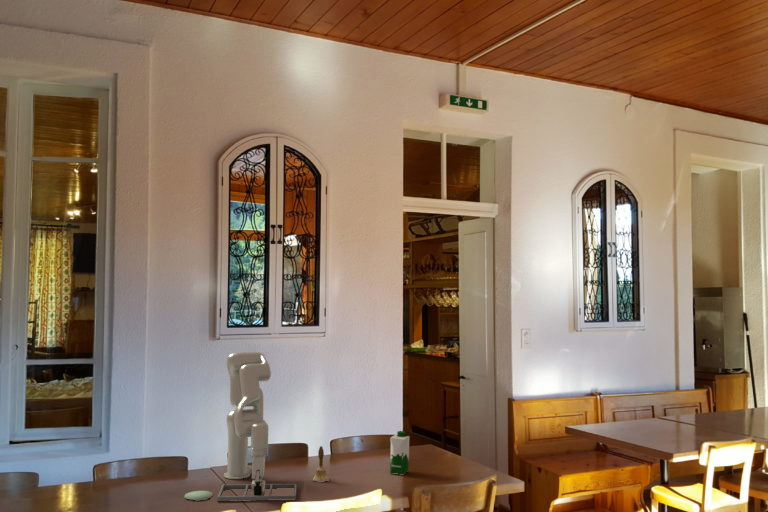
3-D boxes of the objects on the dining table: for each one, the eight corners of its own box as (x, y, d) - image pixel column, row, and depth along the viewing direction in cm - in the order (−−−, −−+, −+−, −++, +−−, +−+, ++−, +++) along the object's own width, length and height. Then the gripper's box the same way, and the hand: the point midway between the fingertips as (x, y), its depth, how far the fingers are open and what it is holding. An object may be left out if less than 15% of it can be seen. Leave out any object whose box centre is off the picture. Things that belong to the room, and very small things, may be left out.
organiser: (296, 489, 318) (296, 483, 318) (295, 501, 301) (295, 495, 301) (222, 490, 314) (222, 484, 314) (217, 503, 297) (217, 497, 297)
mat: (204, 490, 313) (205, 489, 313) (217, 497, 304) (217, 495, 304) (179, 495, 305) (179, 494, 305) (192, 503, 296) (192, 501, 296)
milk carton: (410, 471, 350) (411, 431, 351) (404, 476, 342) (405, 435, 342) (394, 469, 354) (395, 430, 354) (387, 474, 345) (388, 433, 346)
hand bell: (316, 483, 328) (316, 449, 328) (309, 478, 335) (310, 445, 335) (332, 481, 331) (333, 447, 332) (325, 476, 339) (326, 443, 339)
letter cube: (264, 492, 311) (265, 480, 311) (264, 496, 305) (264, 483, 305) (252, 492, 310) (252, 480, 310) (251, 496, 304) (251, 483, 305)
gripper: (252, 446, 316) (251, 487, 316) (249, 456, 299) (247, 499, 299) (268, 446, 317) (267, 486, 316) (266, 456, 300) (265, 499, 299)
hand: (258, 492), depth 308 cm, fingers closed on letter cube, 5 cm apart
